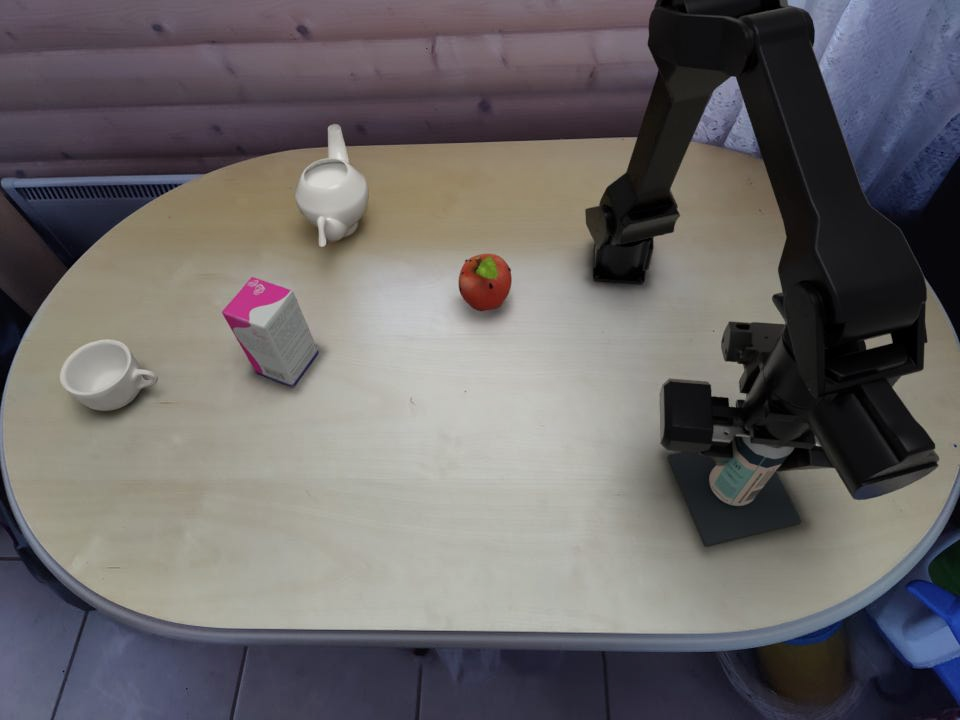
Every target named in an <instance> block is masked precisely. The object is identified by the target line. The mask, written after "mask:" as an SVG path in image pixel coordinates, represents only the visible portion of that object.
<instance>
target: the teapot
mask: <svg viewBox="0 0 960 720" xmlns="http://www.w3.org/2000/svg"><path fill="white" fill-rule="evenodd" d="M369 193H370V191H369V185H368V182H367V179H366V177H365V176H364V175H363V173H362V172H361V171H360V170H359V169H358V168H356V167H355V166H354V165H352V164H351V163H350V159H349V154H348V150H347V145H346V142H345V138H344V135H343V131H342V128H341V125H339V124H337V123H332V124H330V125H329V126H328V127H327V157H325V158H321V159H318V160H315V161H313V162H311V163H310V164H309V165H307V166H306V167H305V168H304V170H302V172H301V174H300V175H299V178H298V180H297V183H296V185H295V188H294V199H295V204H296V206H297V209H298V210H299V212H300V213H301V215H302V216H303V217H304V219H306V220H307V221H308V222H309V223H310V224H312V225H313V226H315V227H316V228H317V229H318V245H319V247H321V248H322V247H325V246H326V245H327V241H328V242H331V243H333V242H334V243H335V242H338V241H341V240H342V239H343V238H346V237H349V236H351V235H352V234H353V233H355V232H356V230H357V228H358V226H359V221H360V220H361V219H362V217H363V216H364V214H365V212H366V211H367V207H368V203H369V199H370V198H369V197H370V194H369Z"/></svg>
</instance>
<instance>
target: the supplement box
mask: <svg viewBox="0 0 960 720" xmlns="http://www.w3.org/2000/svg"><path fill="white" fill-rule="evenodd" d="M221 314H222V316H223V317H224V320H225V321H226V323H227V325H228V326H229V328H230V330H231V332H232V333H233V335H234V337H235V338H236V340H237V342H238V344H239V346H240V348H241V349H242V351H243V353H244V354H245V356H246V358H247V359H248V362H249V363H250V365H251V367H252V369H253V370H254V373H256V374H257V375H260V376H262V377H265V378H267V379H271V380H272V381H275V382H278V383H280V384H283V385H285V386H287V387H290V388H295V387H296V385H297V384H298V383H299V381H300V380H301V378H302V377H303V376H304V374H305V373H306V371H307V370H308V369H309V367H310V366H311V364H312V363H313V361H314V360H315V359H316V358H317V356H318V354H319V349H318V347H317V344H316V341H315V339H314V337H313V335H312V332H311V329H310V328H309V325H308V322H307V321H306V318H305V316H304V313H303V311H302V308H301V306H300V304H299V302H298V299H297V297H296V295H295V292H294V291H293V289H292V290H291V289H289V288H287V287H283V286H281V285H277V284H274V283H271V282H268V281H265V280H263V279H260V278H257V277H254V276H251V277H250V278H249V279H248V281H246V283H245V284H244V285H243V286H242V288H241V289H240V290H239V291H238V292H237V293H236V295H235V296H234V297H233V298H232V299H231V300H230V302H228V304H227V305H226V306H225V307H224V308H223V309H222V311H221Z"/></svg>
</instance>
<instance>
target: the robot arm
mask: <svg viewBox="0 0 960 720" xmlns="http://www.w3.org/2000/svg"><path fill="white" fill-rule="evenodd" d="M815 29H816V28H815V23H814V20H813V18H812V16H811V15H810V12H808V11H807V10H805V9H804V8H801V7H797V6H794V5H789V1H788V0H656V1H655V4H654V7H653V9H652V10H651V12H650V15H649V19H648V37H647V38H648V39H647V48H648V50H649V52H650V54H651V56H652V58H653V61H654V63H655V65H656V67H657V74H656V77H655V81H654V84H653V87H652V90H651V93H650V96H649V99H648V102H647V105H646V109H645V112H644V115H643V117H642V122H641V125H640V128H639V131H638V134H637V137H636V140H635V143H634V145H633V150H632V152H631V156H630V159H629V162H628V165H627V168H626V171H625V173H624V174H622V175H620V176H619V177H617V178H616V180H614V181H613V182H611V183H610V184H609V185H608V186H607V187H606V188H605V190H604V192H603V194H602V196H601V198H600V201H599V204H598V205H596V206H592V207H591V206H590V207H587V208H585V210H584V211H585V214H584V215H585V225H586V228H587V230H588V231H589V234H590V236H591V238H592V240H593V242H594V244H593V260H592V261H593V263H592V277H591V278H592V280H593V281H595V282H603V283H620V284H633V285H634V284H636V285H637V284H638V285H642V284H644V283H645V280H646V271H648V270H649V269H650V265H651V262H652V257H653V252H654V247H655V245H654V243H655V242H654V239H655V238H656V237H659V236H660V237H661V236H665V235H667V234H673V233H674V232H675V226H676V223H677V221H678V219H679V218H680V217H681V214H680V212H679V210H678V208H679V206H678V203H677V201H676V199H675V197H674V194H673V192H672V190H671V188H672V186H673V183H674V181H675V179H676V176H677V174H678V173H679V169H680V167H681V164H682V162H683V160H684V158H685V157H686V154H687V151H688V149H689V146H690V144H691V142H692V139H693V137H694V135H695V132H696V130H697V128H698V125H699V123H700V121H701V118H702V117H703V113H704V111H705V109H706V107H707V104H708V102H709V100H710V98H711V95H712V93H713V92H714V91H715V90H716V89H718V88H719V87H720V86H721V85H723V84H724V83H725V82H727V81H728V80H729V79H731V78H732V77H733V78H735V79H736V82H737V85H738V89H739V92H740V94H741V97H742V101H743V103H744V107H745V109H746V113H747V115H748V118H749V121H750V125H751V127H752V131H753V134H754V137H755V140H756V144H757V146H758V149H759V152H760V155H761V159H762V161H763V164H764V168H765V170H766V173H767V176H768V179H769V182H770V185H771V189H772V192H773V194H774V197H775V200H776V203H777V206H778V207H777V208H778V210H779V213H780V216H781V219H782V222H783V227H784V232H785V235H786V238H785V241H784V245H783V249H782V252H781V255H780V259H779V263H778V266H777V273H778V278H779V283H780V286H781V292H777V293H774V294H773V295H772V296H771V301H772V303H773V305H774V307H775V308H776V309H777V311H778V312H779V314H780V316H781V317H782V318H783V321H784V323H773V322H771V323H770V322H759V321H752V322H743V321H732V320H731V321H728V323H727V324H726V326H725V329H724V330H723V333H722V337H721V341H720V349H721V352H722V357H723V361H724V362H726V363H727V362H729V363H736V364H737V365H742V367H743V372H742V374H741V377H740V378H739V380H738V387H739V393H740V394H743V395H744V394H745V399H740V398H739V399H736V401H735V406H730V399H729V397H724V396H714V395H713V394H712V384H711V383H710V382H709V381H703V380H693V379H681V378H667V380H666V381H665V382H663V384H662V385H661V388H660V392H659V443H660V445H661V446H662V447H663V448H664V449H665V450H666V451H673V452H693V453H699V454H700V455H702V456H707V457H710V458H712V459H713V460H715V462H716V465H717V466H723V465H725V464H726V463H728V462H729V461H730V460H731V459H732V458H733V447H732V440H733V438H734V437H735V436H739V437H750V442H751V443H752V444H763V445H774V446H785V447H795V448H794V450H793V451H792V452H791V453H790V454H789V455H788V457H787V458H786V459H785V460H784V462H783V463H782V464H781V465H780V467H779V468H778V469H777V470H776V472H777V473H779V472H792V471H804V470H806V471H807V470H821V469H834V470H835V472H836V473H837V474H838V476H839V478H840V480H841V481H842V483H843V485H844V486H845V488H846V489H847V491H848V493H849V494H850V496H851V498H852V499H853V500H856V501H866V500H871V499H874V498H878V497H881V496H885V495H888V494H890V493H891V494H892V493H893V492H896V491H898V490H901V489H903V488H906V487H907V486H910V485H912V484H913V483H916V482H918V481H920V480H921V479H923V478H925V477H926V476H929V474H932V473H933V472H934V471H935V470H936V469H938V468H939V466H940V465H939V464H938V462H940V456H939V454H938V453H937V452H936V451H935V450H936V443H935V442H934V440H933V439H932V438H931V436H930V435H929V433H928V432H927V431H926V429H925V428H924V427H923V426H922V425H921V424H920V422H918V421H917V420H916V419H915V417H914V416H913V414H911V411H910V410H909V408H908V407H907V406H906V405H905V403H904V402H903V401H902V399H901V398H900V396H899V394H898V393H897V392H896V391H895V389H894V386H895V384H896V383H898V381H899V380H900V378H901V377H904V376H908V375H912V374H915V373H920V372H922V371H923V370H924V369H925V344H928V334H927V324H926V309H927V308H926V307H927V306H926V304H927V300H928V287H927V283H926V278H925V275H924V273H923V270H922V268H921V266H920V264H919V262H918V260H917V258H916V257H915V255H914V253H913V251H912V248H911V247H910V245H909V243H908V241H907V239H906V237H905V235H904V233H903V231H902V230H901V228H900V227H899V226H898V225H896V224H895V223H893V222H892V221H891V220H890V219H888V217H886V216H885V215H883V214H882V213H881V212H879V211H878V210H877V209H875V208H874V207H873V206H872V205H871V204H870V202H869V200H868V198H867V196H866V194H865V193H864V190H863V188H862V185H861V182H860V179H859V176H858V173H857V171H856V168H855V165H854V162H853V159H852V157H851V154H850V153H851V152H850V151H849V147H848V144H847V142H846V140H845V136H844V134H843V131H842V128H841V125H840V122H839V120H838V116H837V113H836V111H835V108H834V104H833V102H832V99H831V96H830V93H829V90H828V87H827V85H826V81H825V79H824V76H823V73H822V71H821V70H822V69H821V67H820V64H819V62H818V59H817V56H816V52H815V51H814V50H815V49H814V44H815V40H816V39H815V38H816V37H815V36H816V30H815ZM654 237H655V238H654ZM887 335H890V338H891V341H892V343H891V342H890V343H887V344H882V345H880V346H875V347H872V348H868V349H867V345H866V341H868V340H872V339H875V338H879V337H883V336H887ZM712 395H713V396H712Z"/></svg>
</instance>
